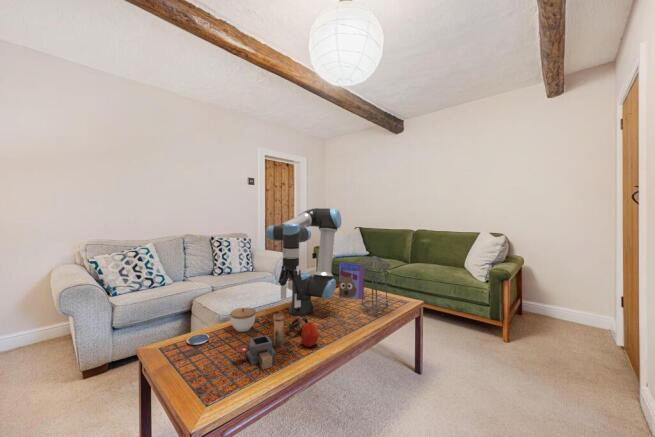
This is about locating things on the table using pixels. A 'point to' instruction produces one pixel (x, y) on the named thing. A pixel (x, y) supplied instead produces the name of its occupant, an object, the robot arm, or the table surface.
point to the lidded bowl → (243, 319)
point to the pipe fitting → (278, 329)
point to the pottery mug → (297, 324)
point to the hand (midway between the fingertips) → (290, 302)
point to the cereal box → (351, 281)
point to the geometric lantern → (375, 281)
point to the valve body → (259, 351)
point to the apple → (309, 334)
